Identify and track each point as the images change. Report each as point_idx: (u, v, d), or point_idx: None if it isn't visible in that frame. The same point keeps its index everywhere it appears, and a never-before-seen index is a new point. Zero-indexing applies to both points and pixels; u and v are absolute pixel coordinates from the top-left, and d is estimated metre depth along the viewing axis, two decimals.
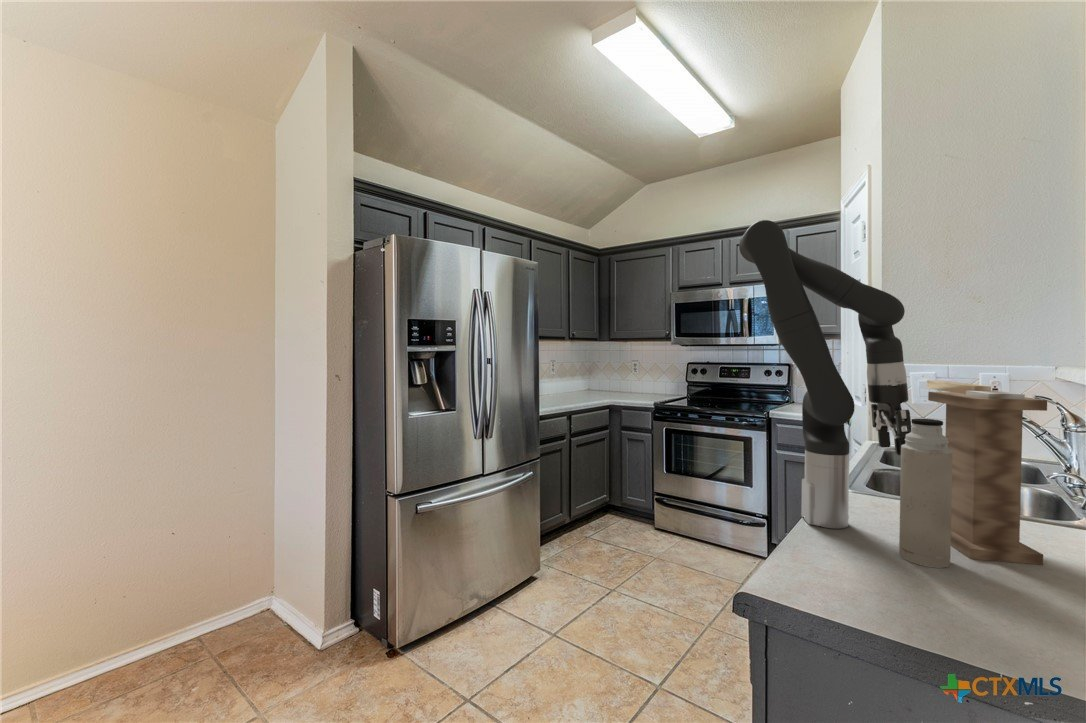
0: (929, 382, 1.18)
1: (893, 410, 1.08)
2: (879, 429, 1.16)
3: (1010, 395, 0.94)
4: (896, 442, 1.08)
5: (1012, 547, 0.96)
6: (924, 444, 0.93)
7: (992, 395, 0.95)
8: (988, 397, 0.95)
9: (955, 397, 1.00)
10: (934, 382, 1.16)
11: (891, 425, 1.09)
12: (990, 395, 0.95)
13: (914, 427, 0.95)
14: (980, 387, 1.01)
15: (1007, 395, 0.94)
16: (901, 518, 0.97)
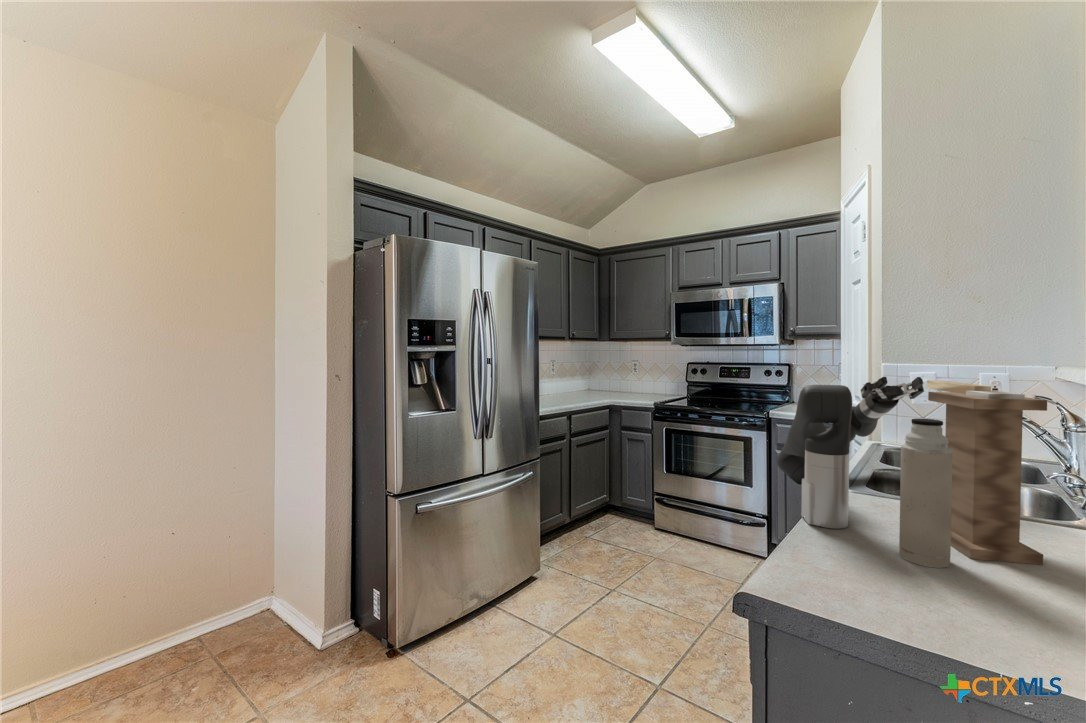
0: (929, 382, 1.18)
1: (872, 396, 1.42)
2: (912, 389, 1.35)
3: (1010, 395, 0.94)
4: (880, 386, 1.36)
5: (1012, 547, 0.96)
6: (924, 444, 0.93)
7: (992, 395, 0.95)
8: (988, 397, 0.95)
9: (955, 397, 1.00)
10: (934, 382, 1.16)
11: (878, 393, 1.39)
12: (990, 395, 0.95)
13: (914, 427, 0.95)
14: (980, 387, 1.01)
15: (1007, 395, 0.94)
16: (901, 518, 0.97)
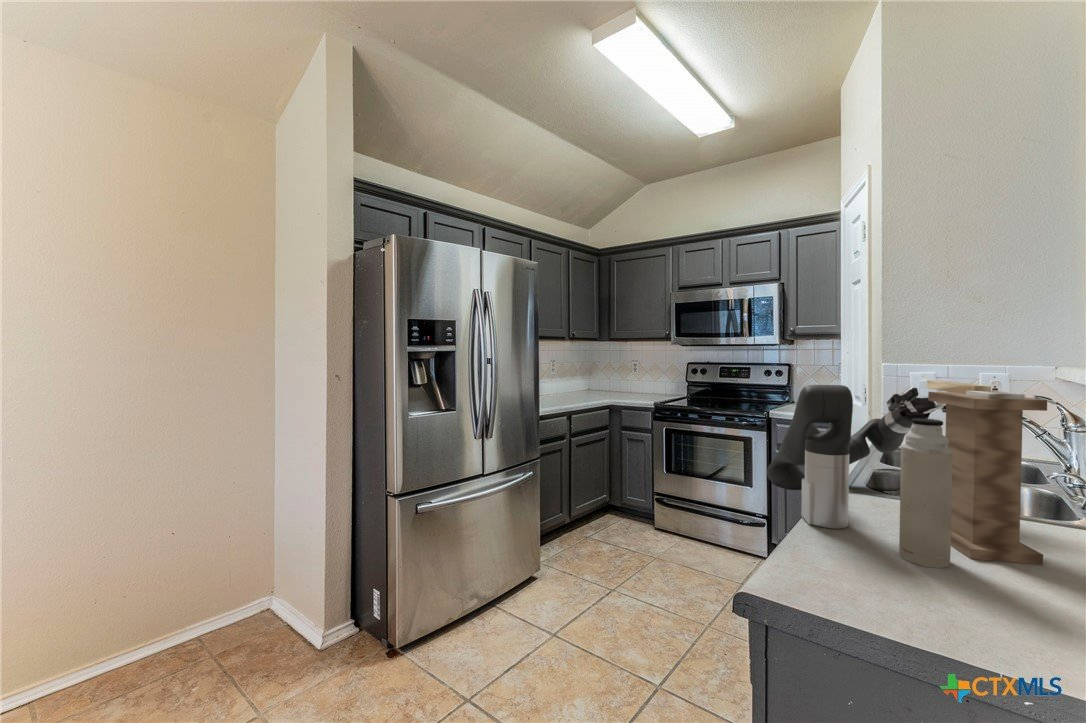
0: (929, 382, 1.18)
1: (899, 409, 1.28)
2: None
3: (1010, 395, 0.94)
4: (910, 399, 1.22)
5: (1012, 547, 0.96)
6: (924, 444, 0.93)
7: (992, 395, 0.95)
8: (988, 397, 0.95)
9: (955, 397, 1.00)
10: (934, 382, 1.16)
11: (907, 406, 1.25)
12: (990, 395, 0.95)
13: (914, 427, 0.95)
14: (980, 387, 1.01)
15: (1007, 395, 0.94)
16: (901, 518, 0.97)
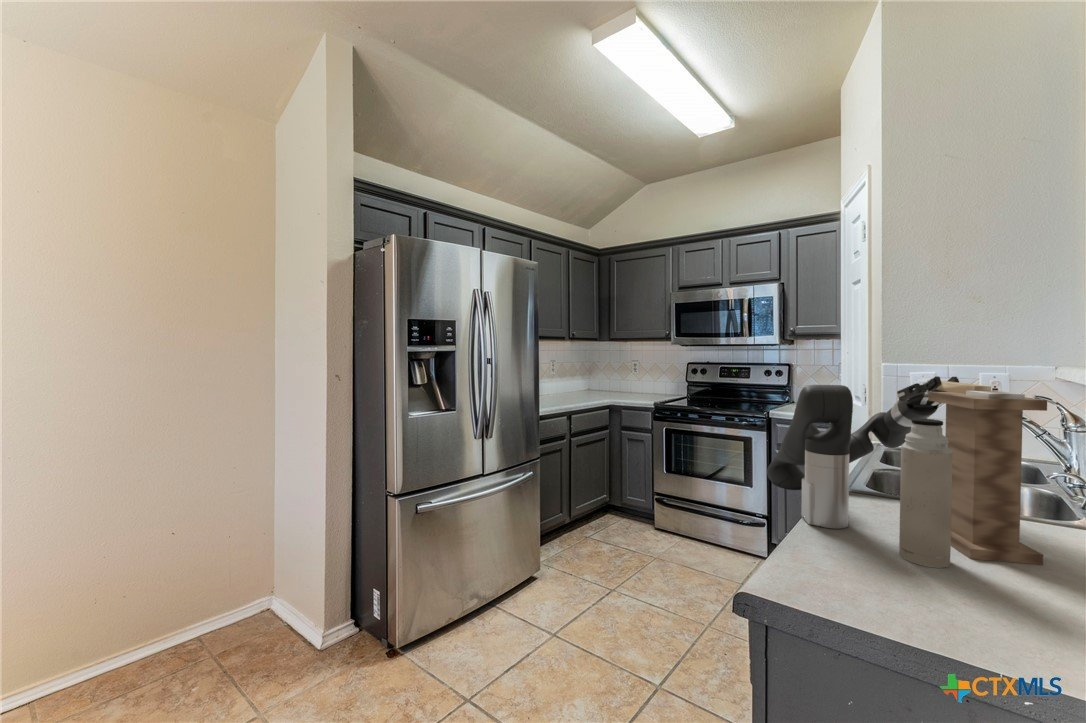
0: None
1: (907, 400, 1.23)
2: (946, 391, 1.16)
3: (1010, 395, 0.94)
4: (932, 388, 1.16)
5: (1012, 547, 0.96)
6: (924, 444, 0.93)
7: (992, 395, 0.95)
8: (988, 397, 0.95)
9: (955, 397, 1.00)
10: None
11: (923, 396, 1.19)
12: (990, 395, 0.95)
13: (914, 427, 0.95)
14: (980, 387, 1.01)
15: (1007, 395, 0.94)
16: (901, 518, 0.97)
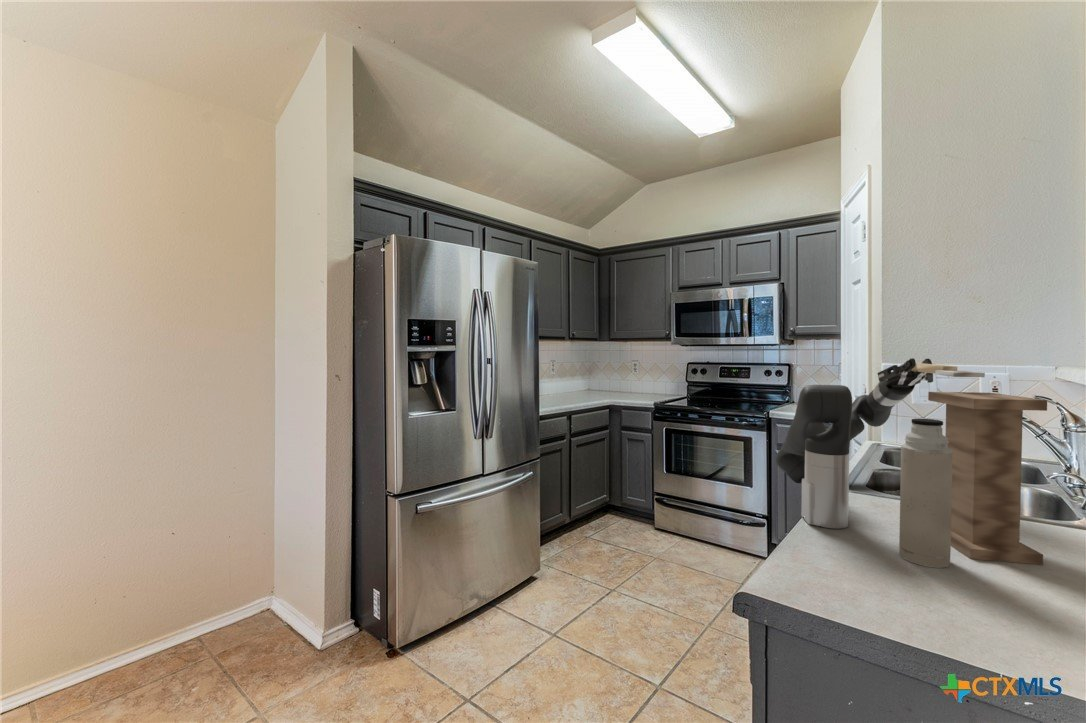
0: None
1: (886, 381, 1.36)
2: (920, 372, 1.29)
3: (972, 373, 1.07)
4: (908, 369, 1.28)
5: (1012, 547, 0.96)
6: (924, 444, 0.93)
7: (956, 373, 1.08)
8: (953, 375, 1.08)
9: (955, 397, 1.00)
10: None
11: (900, 377, 1.32)
12: (955, 373, 1.08)
13: (914, 427, 0.95)
14: (948, 367, 1.14)
15: (969, 373, 1.07)
16: (901, 518, 0.97)
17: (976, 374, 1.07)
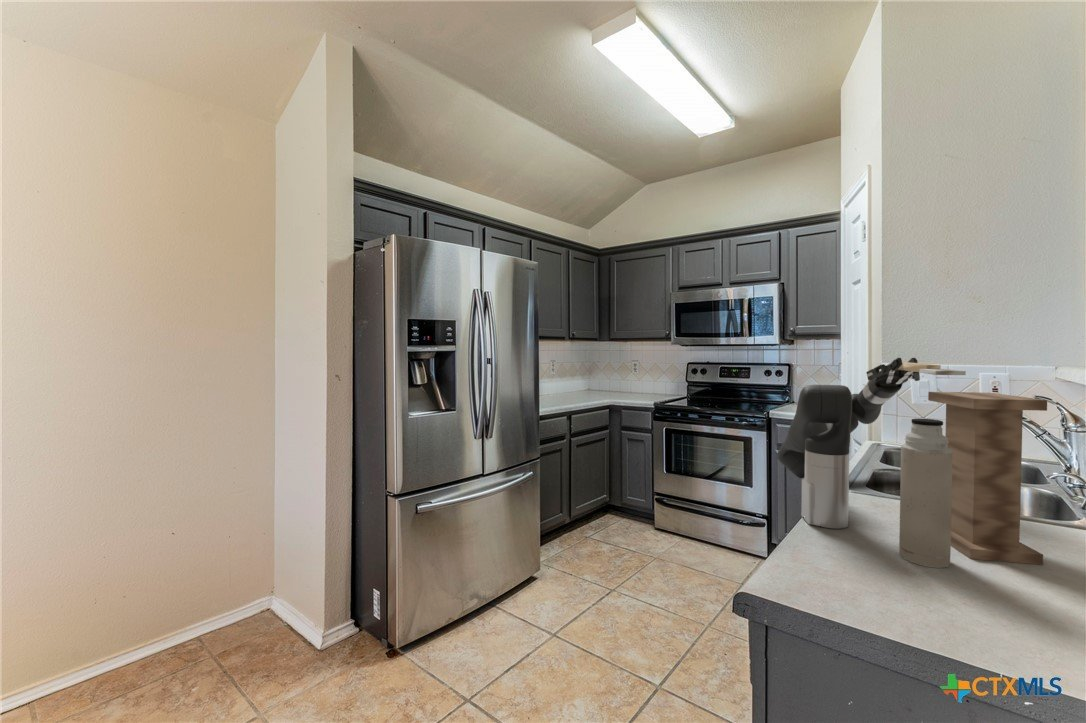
0: None
1: (875, 380, 1.41)
2: (907, 371, 1.34)
3: (953, 372, 1.12)
4: (895, 368, 1.33)
5: (1012, 547, 0.96)
6: (924, 444, 0.93)
7: (939, 372, 1.13)
8: (935, 373, 1.13)
9: (955, 397, 1.00)
10: None
11: (888, 376, 1.37)
12: (937, 372, 1.13)
13: (914, 427, 0.95)
14: (931, 366, 1.19)
15: (951, 372, 1.12)
16: (901, 518, 0.97)
17: (957, 372, 1.12)
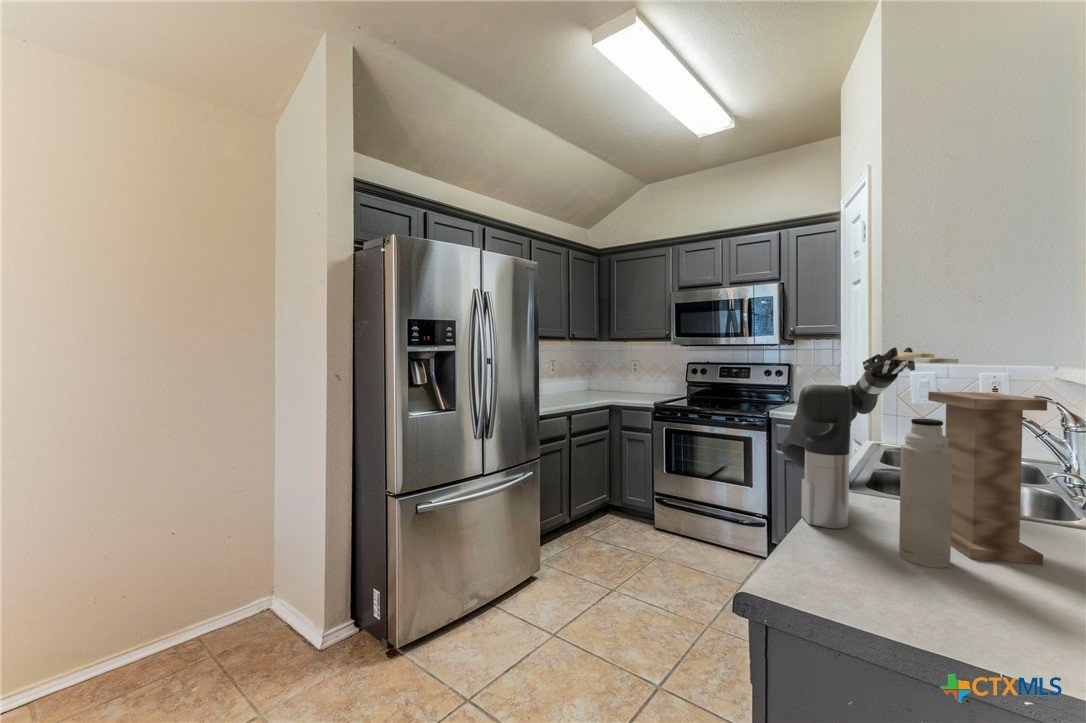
0: None
1: (871, 370, 1.43)
2: (902, 360, 1.36)
3: (947, 359, 1.14)
4: (890, 358, 1.36)
5: (1012, 547, 0.96)
6: (923, 444, 0.93)
7: (932, 360, 1.15)
8: (929, 361, 1.15)
9: (955, 397, 1.00)
10: None
11: (883, 365, 1.39)
12: (931, 360, 1.15)
13: (914, 427, 0.95)
14: (925, 354, 1.21)
15: (944, 360, 1.15)
16: (901, 518, 0.97)
17: (950, 360, 1.14)
